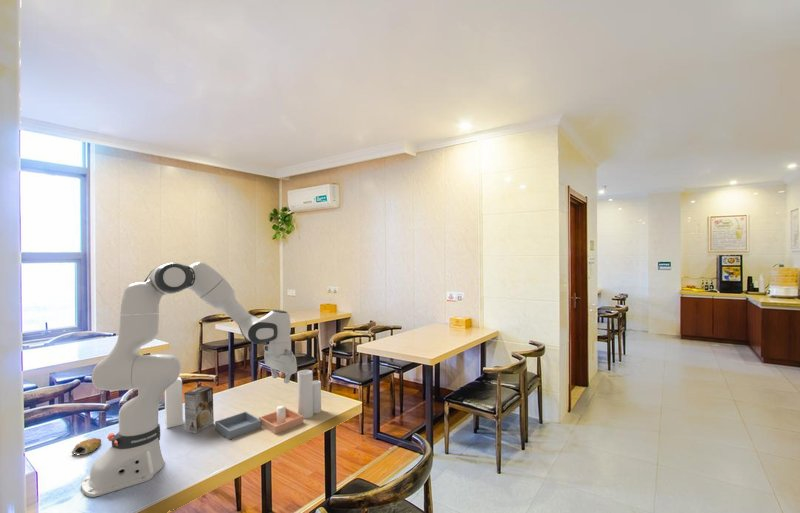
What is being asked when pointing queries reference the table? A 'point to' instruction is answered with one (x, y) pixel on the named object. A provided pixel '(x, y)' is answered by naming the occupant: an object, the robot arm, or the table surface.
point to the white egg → (281, 415)
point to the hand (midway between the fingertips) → (280, 380)
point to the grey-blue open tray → (237, 425)
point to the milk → (174, 404)
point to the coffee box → (198, 409)
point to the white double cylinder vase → (308, 394)
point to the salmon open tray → (291, 421)
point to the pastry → (86, 446)
